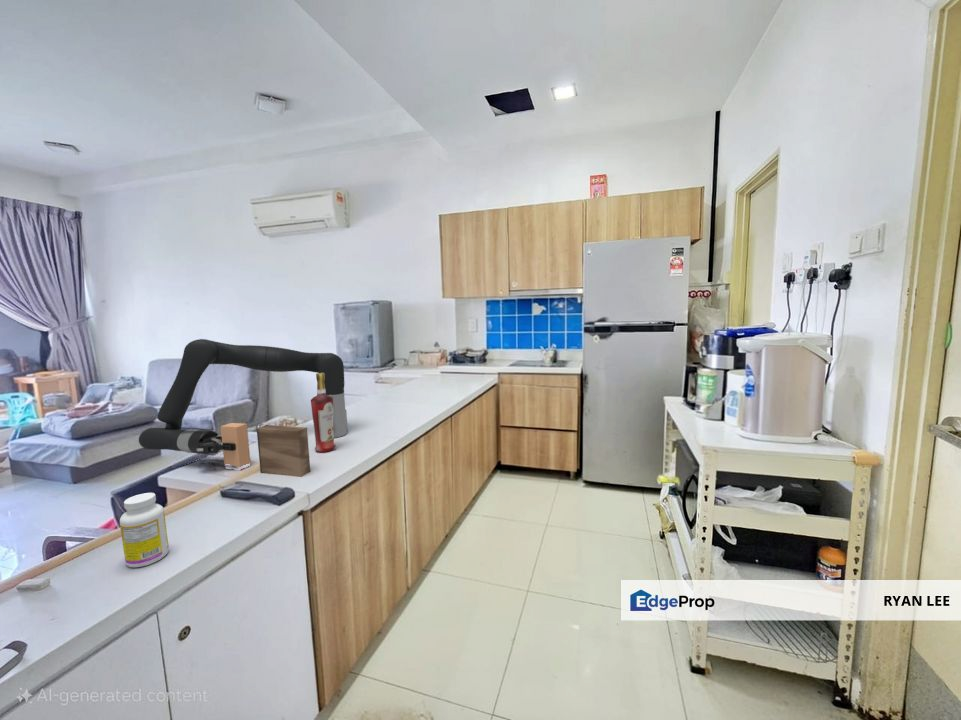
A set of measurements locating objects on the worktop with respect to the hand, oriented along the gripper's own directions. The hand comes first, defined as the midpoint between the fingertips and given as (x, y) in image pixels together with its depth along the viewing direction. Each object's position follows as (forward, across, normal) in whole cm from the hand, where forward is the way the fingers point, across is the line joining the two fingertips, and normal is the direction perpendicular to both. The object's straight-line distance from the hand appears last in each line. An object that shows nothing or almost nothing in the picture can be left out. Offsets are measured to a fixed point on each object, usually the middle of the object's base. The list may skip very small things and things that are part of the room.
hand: (241, 444), depth 122 cm
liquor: (+16, +20, +8) cm, 27 cm away
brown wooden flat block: (+16, 0, +8) cm, 18 cm away
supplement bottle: (+19, -42, +8) cm, 47 cm away
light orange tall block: (-2, 0, +8) cm, 8 cm away
